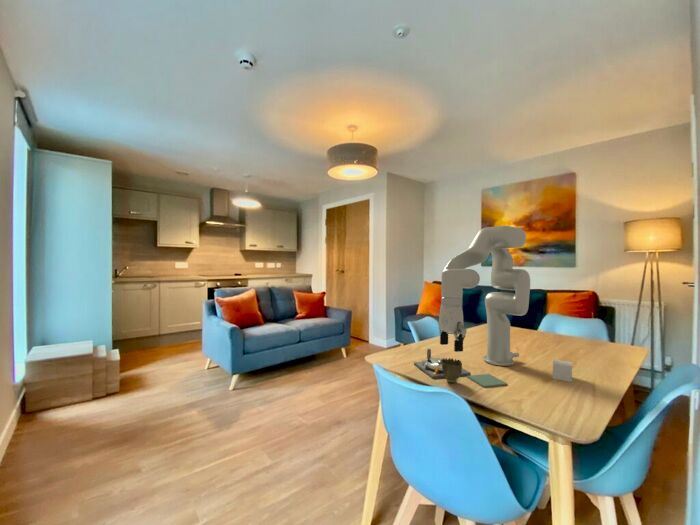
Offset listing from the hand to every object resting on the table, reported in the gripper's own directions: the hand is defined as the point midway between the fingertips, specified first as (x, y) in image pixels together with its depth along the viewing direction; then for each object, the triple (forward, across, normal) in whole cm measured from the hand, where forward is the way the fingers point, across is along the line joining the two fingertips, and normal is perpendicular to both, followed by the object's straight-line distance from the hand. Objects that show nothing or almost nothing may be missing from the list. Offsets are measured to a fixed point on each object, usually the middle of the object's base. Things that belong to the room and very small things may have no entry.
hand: (451, 347), depth 113 cm
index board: (+13, -13, +4) cm, 19 cm away
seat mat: (+13, +2, +14) cm, 19 cm away
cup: (+13, 0, +1) cm, 13 cm away
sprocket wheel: (+12, -13, +4) cm, 18 cm away
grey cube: (+13, +5, +46) cm, 48 cm away
